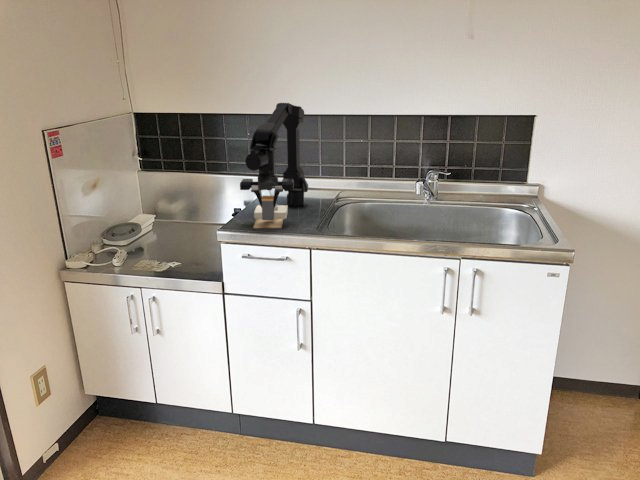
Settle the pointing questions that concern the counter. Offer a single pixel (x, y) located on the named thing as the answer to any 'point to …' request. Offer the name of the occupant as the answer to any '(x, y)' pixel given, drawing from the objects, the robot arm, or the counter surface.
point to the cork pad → (268, 223)
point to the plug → (267, 208)
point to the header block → (279, 212)
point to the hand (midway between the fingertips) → (268, 207)
